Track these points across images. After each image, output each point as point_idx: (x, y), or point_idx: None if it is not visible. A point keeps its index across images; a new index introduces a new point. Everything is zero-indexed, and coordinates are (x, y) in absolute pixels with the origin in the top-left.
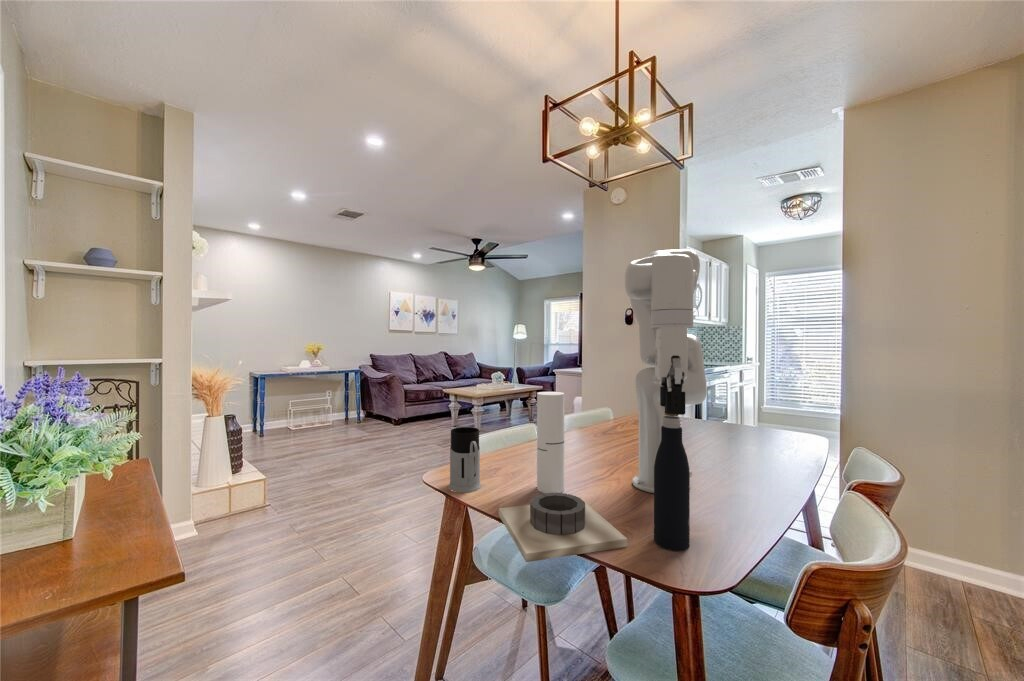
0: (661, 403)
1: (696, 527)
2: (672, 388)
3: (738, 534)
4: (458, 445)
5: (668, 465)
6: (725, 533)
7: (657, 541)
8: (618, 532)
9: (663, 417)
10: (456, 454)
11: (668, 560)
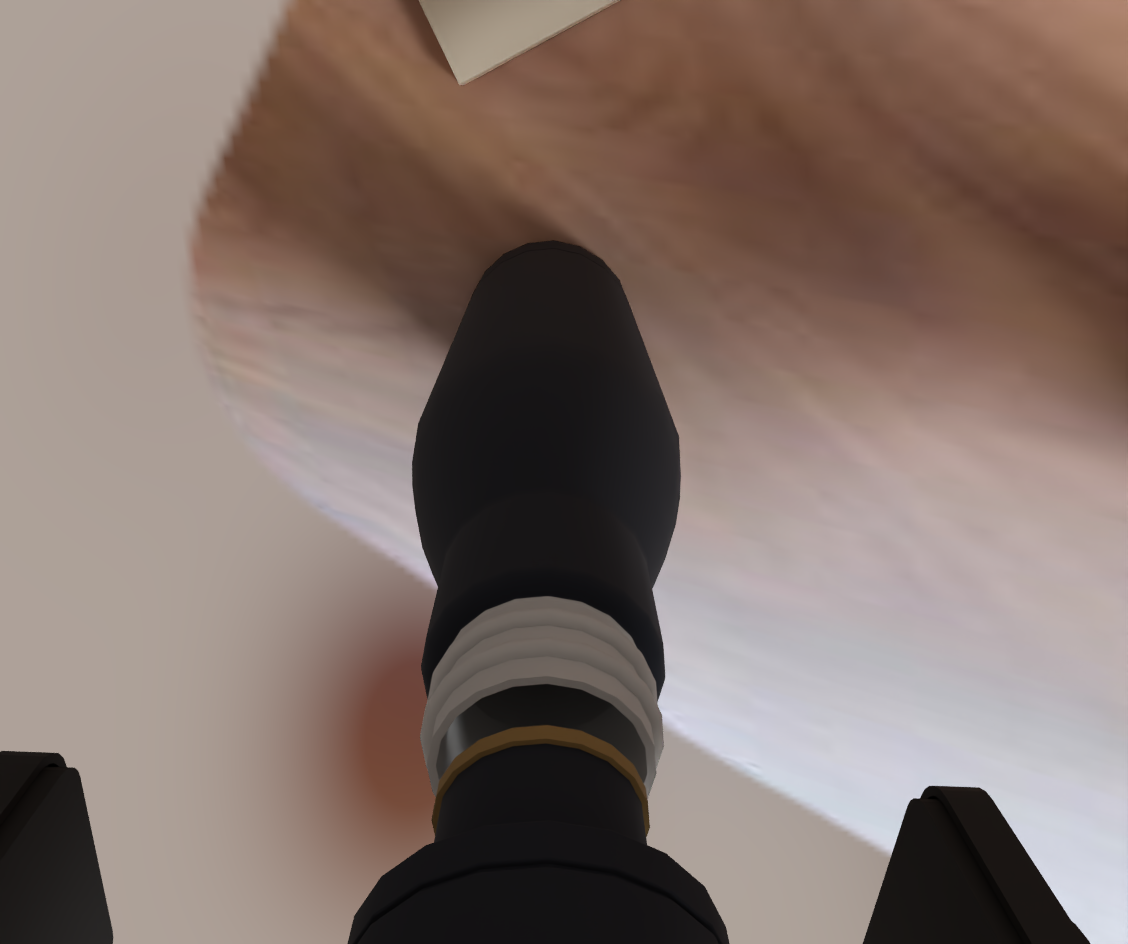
0: (929, 824)
1: (730, 471)
2: None
3: (679, 618)
4: None
5: (420, 447)
6: (682, 573)
7: (509, 253)
8: (527, 37)
9: (543, 672)
10: None
11: (377, 276)
